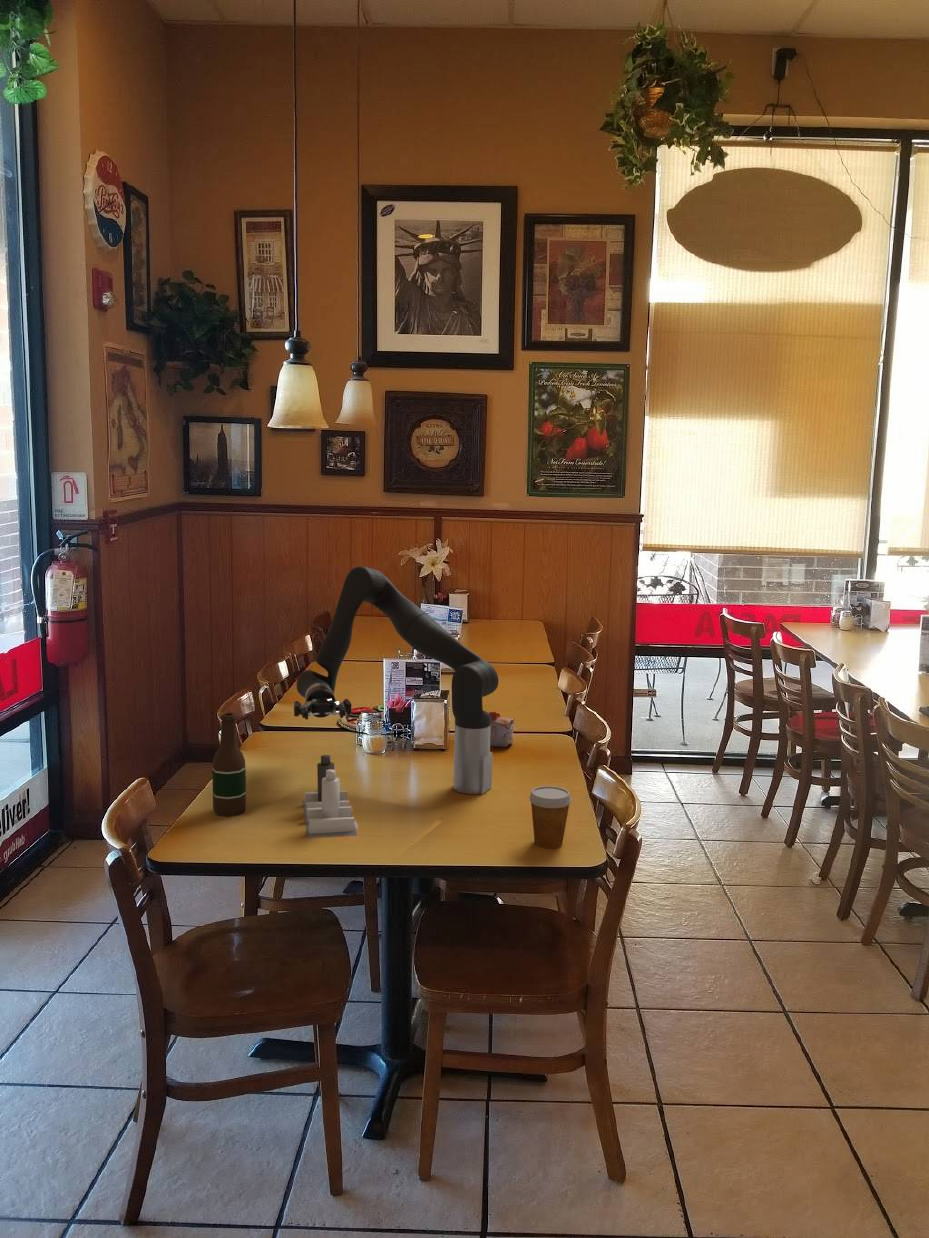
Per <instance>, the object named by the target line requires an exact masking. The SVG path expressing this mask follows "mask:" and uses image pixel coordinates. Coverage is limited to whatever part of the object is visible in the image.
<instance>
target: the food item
mask: <svg viewBox="0 0 929 1238" xmlns="http://www.w3.org/2000/svg"><path fill="white" fill-rule="evenodd" d="M488 713H489V714H490V716H491V728H490V747H497V748H507V747H509V746H510V745H512V744H513V743H514V727H515V722H516V719H515V718H510V717H509V718H508V717H501V713H499V712H496V711H489V712H488Z"/></svg>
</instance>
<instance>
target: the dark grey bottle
mask: <svg viewBox="0 0 929 1238" xmlns="http://www.w3.org/2000/svg"><path fill="white" fill-rule="evenodd" d="M316 766H317V767H316V769H317V770H316V771H317V773H316V775H317V792H318V802H322V778H325V777H326V770H329V769H333V770H335V763H334V762H332V761H331V755H329V754H322V755H320V762H318V763H317V764H316Z"/></svg>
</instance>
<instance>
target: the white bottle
mask: <svg viewBox="0 0 929 1238" xmlns="http://www.w3.org/2000/svg"><path fill="white" fill-rule="evenodd" d="M340 781H341V779H340V778H339V777H337V772H336V769H334V770H333V769H329V770H326V777H325V778H322V819H323V818H339V798H340V791H341V789H340V787H341V785H340Z"/></svg>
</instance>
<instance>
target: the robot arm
mask: <svg viewBox="0 0 929 1238" xmlns="http://www.w3.org/2000/svg"><path fill="white" fill-rule="evenodd" d="M363 602H365V603H369V604H371V605H372V606H374V607H375V608H376V609H378V610H379V611H381V612H382V613H384V615H385V616H386V617H388V619H389V620H390V622H391V623H392V625H393V627H394V629H395V630H396V632H397V633H398V635H399V636H400V637H401V638H402V640H403V641H405V642H406V643H407V644H408V645H409V646H411V648H412V649H414V650H415V651H416V652H418V653H420V654H421V655H423V656H426V657H427V658H430V659H433V660H435V661H437V662H439V663H442V664H444V665H446V666H447V667H450V668H451V669H452V670H453V671H454V672H453V673H452V677H451V678H452V679H451V709H452V713H453V714H452V715H453V717H454V740H453V741H454V745H453V746H454V748H453V749H454V750H453V781H452V782H453V785H452V788H453V789H454V791H456V792H458V793H462V794H470V795H471V794H472V795H473V794H476V795H478V794H481V795H483V794H485V793H486V792H488V791H489V790H490V789H492V784H493V783H492V782H493V781H492V780H493V752H492V751H490V750H491V746H490V728H491V716H490V714H489V712H488V711H487V710H484V709H483V698H484V697H488V696H489V695H491V694H493V693H495V691H496V690H497V689H498V686H499V675H498V673H497V671H496V669H495V668H494V666H493V665H492V664H490V663H489V662H488V661H487V660H485V659H484V658H482V657H481V656H480V655H478V654H476V653H475V652H473V651H472V650H470V649H469V648H468V647H466V646H465V645H464V644H462V643H461V642H460V641H459V640H458V639H456V638H455V637H454V635H452V634H451V633H450V632H449V631H447V630H446V629H445V628H444V627H442V626H441V625H440V624H439V623H438V622H437V621H436V620H435V619H434V618H432V617H431V616H430V615H429V614H428V613H426V611H424V610H423V609H422V608H420V607H419V606H418V605H417V604H416V603H414V602H413V601H411V600H410V599H409V598H407V597H406V596H405V595H403V593H402V592H401V591H400V590H399V589H398V588H397V587H396V586H395V585H394V584H393V583H392V582H391V581H390V579H388V577H387V576H386V575H385V574H384V573H382V572H381V571H379V570H378V569H375V568H371V567H367V566H361V565H360V566H359V565H358V566H355V567H353V568H352V569H350V571H349V572H348V573H347V575H346V578H345V580H344V583H343V585H342V588H341V591H340V595H339V598H338V602H337V606H336V609H335V610H334V615H333V618H332V621H331V623H330V627H329V629H328V631H327V633H326V636H325V638H324V639H323V642H322V643H321V645H320V648H319V650H318V652H317V654H316V656H315V662H316V664H318V666H320V667H321V668H323V669H324V670H325V671H326V672H327V676H326V675H324V674H321V673H318V672H316V671H314V670H312V669H306V670H304V671H301V673H300V674H299V676H298V677H297V680H296V691H297V693H298V694H299V695H300V696H301V697H302V698H304V700H305V701H304V702H305V703H302V702H300V701H298V700H296V701H294V702H293V714H294V717H300V715H301V717H302V719H305V720H309V717H316V718H319V719H321V718H326V717H329V716H330V715H333V716H339V718H343V716H346V713H347V714H352V711H351V709H352V702H351V701H350V699H348V698H345V699H343V700H342V702H339V701H340V700H339V701H338V700H336V697H335V690H336V685H337V678H338V674H339V671H340V667H341V665H342V663H343V661H344V659H345V657H346V655H347V653H348V650H349V648H350V645H351V642H352V635H353V626H354V621H355V618H356V615H357V613H358V612H359V611H358V610H359V608H360V607H361V605H362V604H363Z"/></svg>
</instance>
